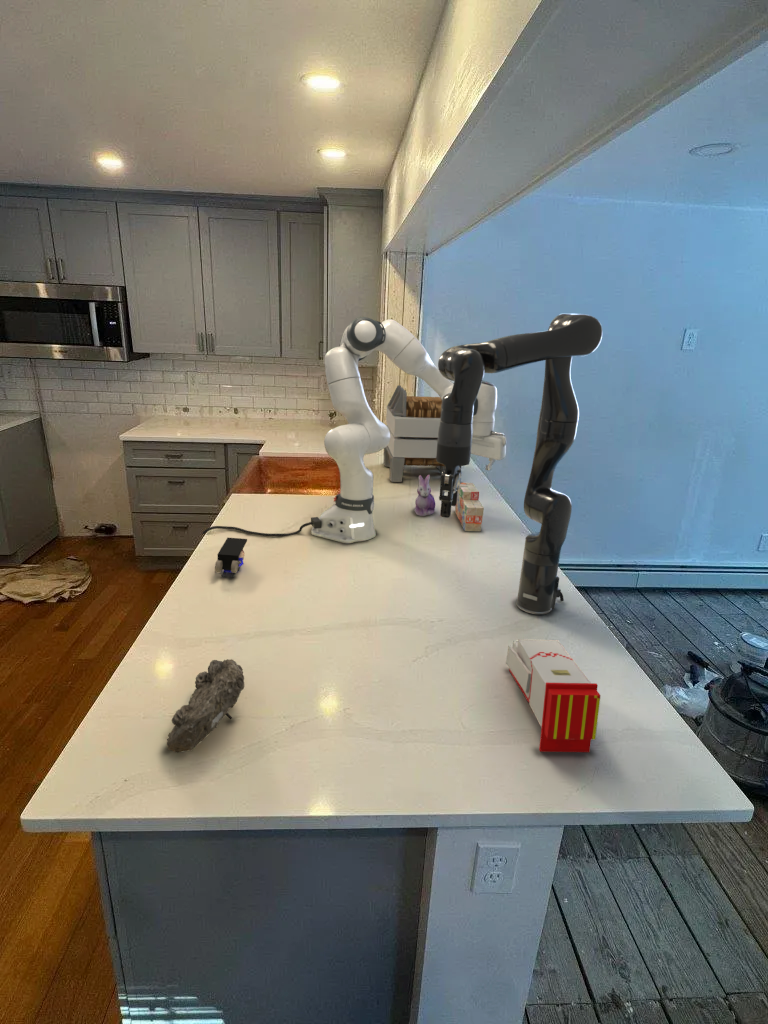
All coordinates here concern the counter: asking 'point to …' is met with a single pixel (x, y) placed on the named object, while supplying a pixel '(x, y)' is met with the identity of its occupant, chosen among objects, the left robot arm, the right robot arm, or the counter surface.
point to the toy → (556, 694)
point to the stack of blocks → (469, 507)
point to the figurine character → (230, 556)
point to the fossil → (206, 705)
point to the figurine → (424, 498)
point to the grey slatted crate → (411, 432)
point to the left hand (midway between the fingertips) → (477, 467)
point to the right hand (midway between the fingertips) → (448, 510)
